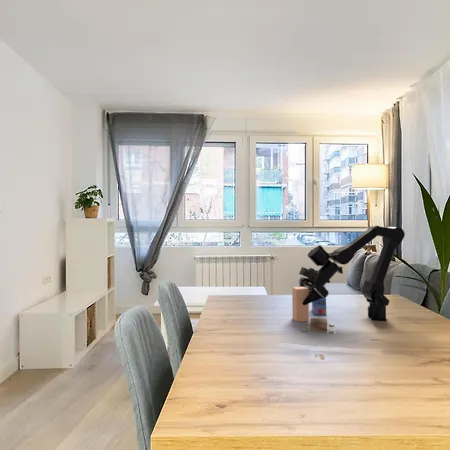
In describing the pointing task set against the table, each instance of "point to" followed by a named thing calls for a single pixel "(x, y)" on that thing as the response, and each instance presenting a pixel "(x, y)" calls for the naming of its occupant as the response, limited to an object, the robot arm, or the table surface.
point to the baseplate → (330, 330)
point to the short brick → (318, 324)
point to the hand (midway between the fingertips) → (299, 302)
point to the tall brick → (300, 304)
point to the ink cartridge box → (319, 306)
